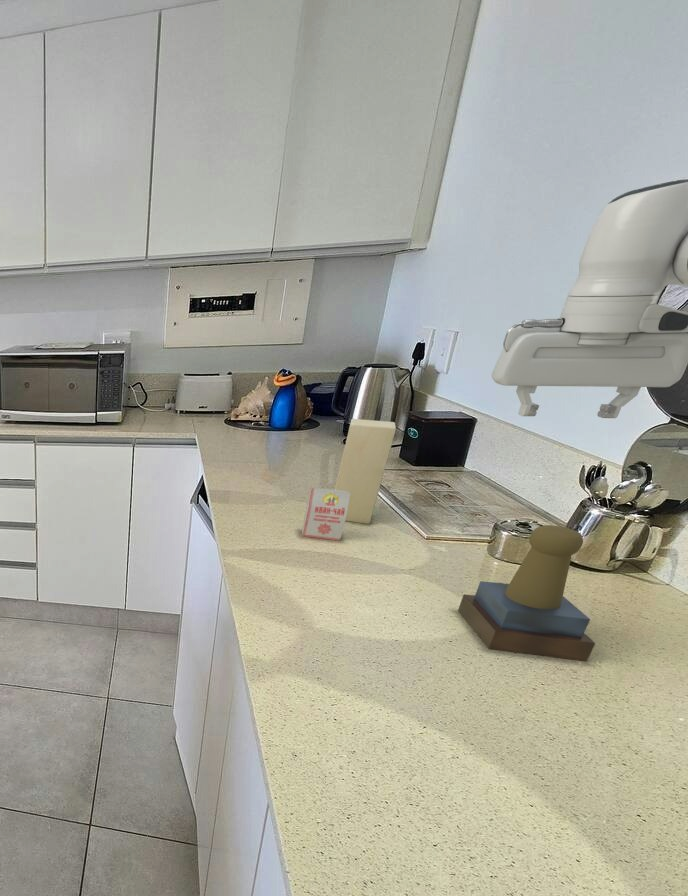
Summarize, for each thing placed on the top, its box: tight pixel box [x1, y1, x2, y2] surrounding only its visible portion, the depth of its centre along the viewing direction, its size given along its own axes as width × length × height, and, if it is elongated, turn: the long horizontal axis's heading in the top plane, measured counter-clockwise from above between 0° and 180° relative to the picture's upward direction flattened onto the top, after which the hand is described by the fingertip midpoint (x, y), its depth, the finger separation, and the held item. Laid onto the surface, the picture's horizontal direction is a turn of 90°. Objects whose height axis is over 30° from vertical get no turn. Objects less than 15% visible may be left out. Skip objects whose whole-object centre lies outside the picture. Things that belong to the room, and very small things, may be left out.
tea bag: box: [301, 487, 351, 542], centre depth 118 cm, size 4×7×10 cm, turn 64°
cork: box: [504, 524, 584, 610], centre depth 81 cm, size 6×6×11 cm
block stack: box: [457, 580, 596, 662], centre depth 84 cm, size 11×11×6 cm
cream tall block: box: [333, 418, 397, 525], centre depth 124 cm, size 8×7×21 cm
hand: (565, 416), depth 86 cm, fingers open, 8 cm apart
